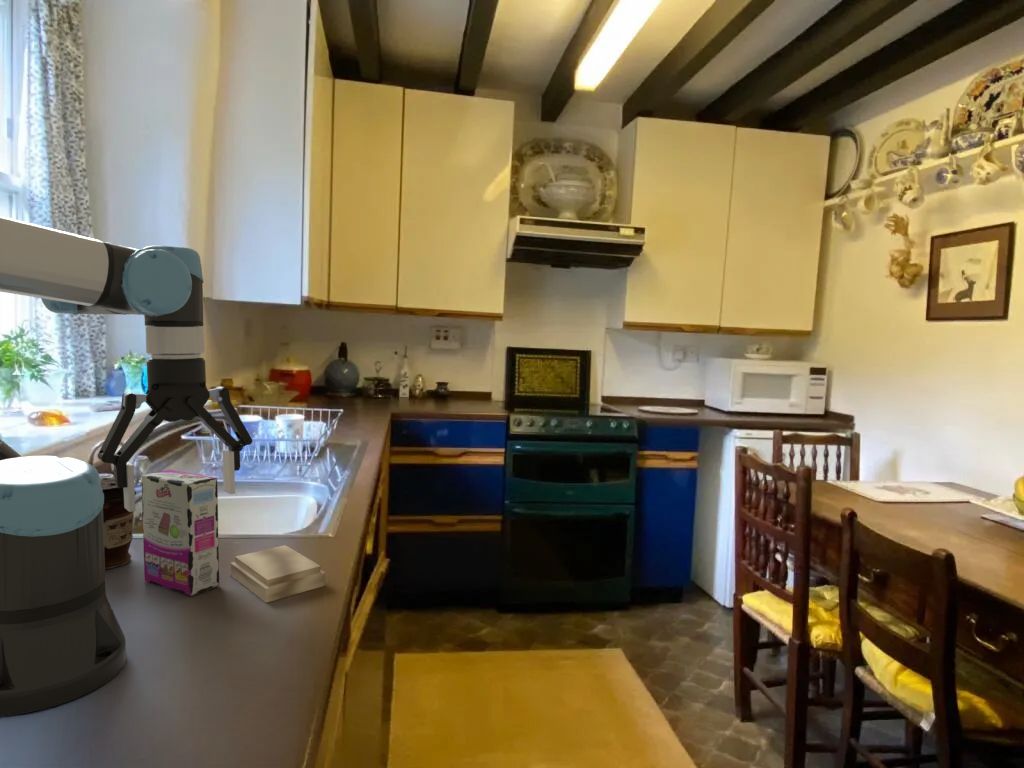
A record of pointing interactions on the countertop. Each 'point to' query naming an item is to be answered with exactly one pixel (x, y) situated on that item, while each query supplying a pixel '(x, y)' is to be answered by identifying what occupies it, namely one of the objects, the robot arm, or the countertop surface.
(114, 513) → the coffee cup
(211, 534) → the candy bar box
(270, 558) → the plinth
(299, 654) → the countertop surface
